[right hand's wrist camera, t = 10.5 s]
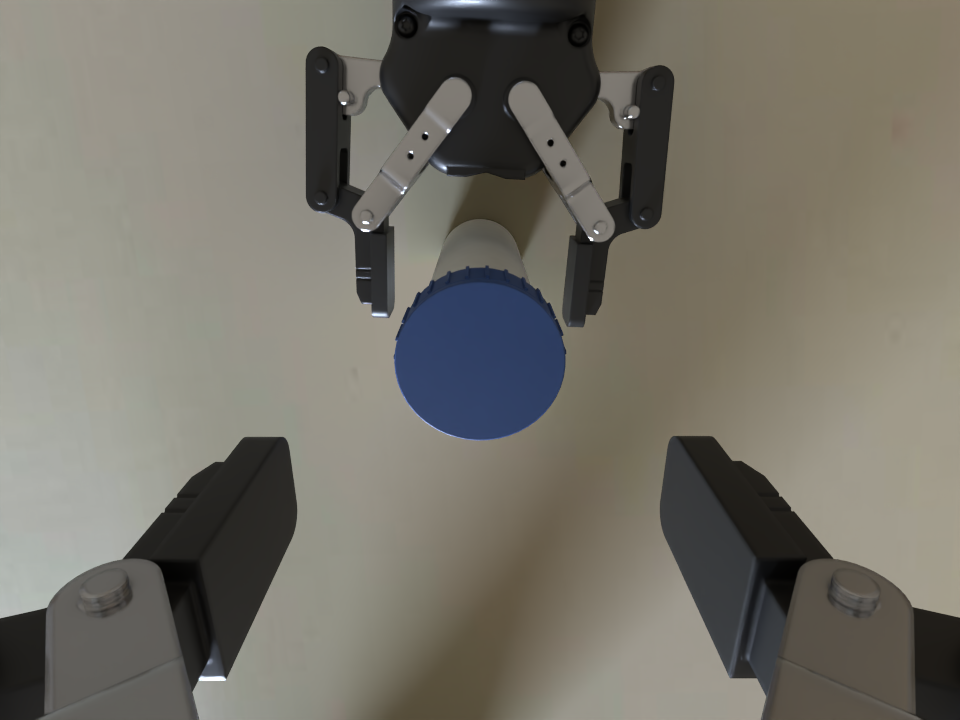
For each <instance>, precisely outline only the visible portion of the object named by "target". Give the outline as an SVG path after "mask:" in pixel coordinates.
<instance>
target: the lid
mask: <svg viewBox="0 0 960 720" xmlns="http://www.w3.org/2000/svg"><path fill="white" fill-rule="evenodd" d="M555 318H556V316H555V314H554V311H553V309H552V306H551V304H550V303H548V304H547V303H546V301H545V300H544V298H543V297H542V295H541V292H540V290H539V289H538V288H537V289H536V290H535V289H534V288H533V287H532V286H531V285H530V284H528V283H527V282H526V279H525V278H524V277H522V278H519V277H517V276H515V275H513V274H511V273H508V270H507V269H504V271H502V270H498V269H493V268H489V266H488V265H485V268H483V267H480V268H469V266H466V269H462V270H458V271H455V272H452V273H451V271H448V272H447V275H445V276H443V277H441V278H439V279H437V280H436V281H434V280H431V281H430V284H429V286H428V287H427V288H425V289H424V290H423V292H422V293H420V292H418V293H417V295H416V297H415V300H414V302H413V304H412V306H411V308H409V307H408V308H407V310H406V312H405V315H404V317H403V320H402V323H404V324H401V326H400V329H399V331H398V334H397V336H396V339H395V340H396V341H397V344H396V349H395V354H394V359H395V362H394V363H395V373H396V377H397V381H398V385H399V387H400V390H401V392H402V394H403V396H404V398H405V400H406V401H407V403H408V404H409V405H410V407H411V408H412V409H413V411H414V412H415V413H416V414H417V415H418V416H419V417H420V418H421V419H423V420H424V421H425V422H426V423H428V424H429V425H430V426H432V427H434V428H435V429H437V430H439V431H441V432H443V433H446V434H448V435H451V436H454V437H457V438H462V439H468V440H492V439H498V438H502V437H506V436H509V435H512V434H514V433H517V432H519V431H521V430H523V429H525V428H526V427H528V426H530V425H531V424H532V423H534V422H535V421H536V420H538V419H539V418H540V417H541V416H542V415H543V414H544V413H545V412H546V411H547V409H548V408H549V407H550V406H551V404H552V403H553V401H554V400H555V398H556V396H557V394H558V392H559V390H560V388H561V384H562V381H563V378H564V372H565V354H566V350H565V347H564V344H563V340H562V337H561V336H563V332H562V330H561V327H560V325H559V322H558V320H557V319H555Z"/></svg>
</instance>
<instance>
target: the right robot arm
mask: <svg viewBox="0 0 960 720" xmlns="http://www.w3.org/2000/svg"><path fill="white" fill-rule="evenodd" d="M660 519H661V525H662V530H663V533H664V536H665V538H666V540H667V542H668V545H669V547H670V549H671V551H672V553H673V555H674V558H675V560H676V562H677V564H678V566H679V569H680V571H681V573H682V575H683V577H684V579H685V582H686V584H687V586H688V588H689V590H690V592H691V595H692V597H693V599H694V601H695V603H696V605H697V608H698V610H699V612H700V614H701V616H702V618H703V621H704V623H705V625H706V627H707V629H708V632H709V634H710V636H711V638H712V640H713V642H714V645H715V647H716V649H717V651H718V653H719V655H720V658H721V660H722V662H723V664H724V666H725V668H726V671H727V673H728V675H729V677H730V678H757V679H758V681H759V683H760V685H761V687H762V689H763V691H764V693H765V695H766V701H765V705H764V709H763V713H762V717H761V720H960V618H959V617H954V616H950V615H945V614H941V613H936V612H932V611H927V610H922V609H918V608H914V607H912V605H911V603H910V601H909V600H908V598H907V597H906V596H905V594H904V593H903V592H902V591H901V590H900V589H899V588H898V587H896V586H895V585H894V584H893V583H892V582H890V581H889V580H887V579H886V578H884V577H883V576H881V575H879V574H878V573H876V572H874V571H872V570H870V569H868V568H865V567H863V566H860V565H857V564H854V563H851V562H847V561H843V560H838V559H833V558H832V556H831V555H830V554H829V553H828V552H827V550H826V549H825V548H824V547H823V546H822V544H821V543H820V542H819V541H818V540H817V538H816V537H815V536H814V535H813V534H812V532H811V531H810V530H809V529H808V528H807V526H806V525H805V524H804V523H803V522H802V520H801V519H800V518H799V517H798V516H797V514H796V513H795V512H794V511H791V507H790V506H789V505H788V504H787V502H786V501H785V500H784V499H783V498H782V497H779V493H778V492H777V490H776V489H775V488H774V487H773V486H772V484H771V483H770V482H769V481H768V480H767V478H766V477H765V476H764V475H762V474H761V473H759V472H758V471H756V470H754V469H753V468H751V467H750V466H748V465H747V464H745V463H743V462H742V461H732V460H731V459H730V457H729V456H728V455H727V454H726V452H725V451H724V450H723V448H722V447H721V446H720V445H719V443H718V442H717V441H716V439H715V438H714V437H712V436H673V437H672V438H671V439H670V441H669V444H668V449H667V456H666V464H665V471H664V479H663V486H662V493H661V501H660ZM296 520H297V501H296V494H295V487H294V479H293V472H292V465H291V458H290V450H289V445H288V442H287V440H286V439H285V438H284V437H244V438H243V439H242V440H241V441H240V442H239V444H238V445H237V446H236V447H235V449H234V450H233V451H232V453H231V454H230V455H229V456H228V458H227V459H226V460H225V462H215V463H213V464H211V465H210V466H208V467H207V468H205V469H204V470H202V471H200V472H199V473H197V474H196V475H194V476H193V477H191V479H190V480H189V481H188V482H187V483H186V485H185V486H184V487H183V488H182V489H181V491H180V492H179V493H178V494H177V498H174V499H173V500H172V501H171V502H170V504H169V505H168V506H167V507H166V508H165V513H161V514H160V515H159V517H158V518H157V519H156V520H155V521H154V523H153V524H152V525H151V526H150V527H149V528H148V530H147V531H146V532H145V533H144V534H143V536H142V537H141V538H140V539H139V540H138V542H137V543H136V544H135V545H134V546H133V547H132V549H131V550H130V551H129V552H128V553H127V555H126V556H125V557H124V558H123V559H122V560H117V561H113V562H109V563H106V564H103V565H100V566H97V567H95V568H92V569H90V570H88V571H86V572H84V573H82V574H81V575H79V576H77V577H76V578H74V579H73V580H71V581H70V582H68V583H67V584H66V585H65V586H64V587H62V588H61V589H60V590H59V591H58V592H57V593H56V594H55V596H54V597H53V598H52V600H51V601H50V603H49V605H48V608H44V609H41V610H36V611H32V612H27V613H23V614H18V615H14V616H9V617H5V618H0V720H199V717H198V713H197V709H196V705H195V701H194V697H193V693H192V691H193V690H194V688H195V686H196V684H197V682H198V680H226V679H227V676H228V674H229V672H230V670H231V668H232V666H233V664H234V661H235V659H236V657H237V655H238V653H239V651H240V649H241V646H242V644H243V642H244V640H245V638H246V636H247V634H248V631H249V629H250V627H251V625H252V623H253V621H254V619H255V616H256V614H257V612H258V610H259V608H260V606H261V603H262V601H263V599H264V597H265V595H266V593H267V591H268V588H269V586H270V584H271V582H272V580H273V578H274V576H275V573H276V571H277V569H278V567H279V565H280V563H281V561H282V558H283V556H284V554H285V552H286V550H287V548H288V546H289V543H290V541H291V539H292V537H293V534H294V531H295V527H296Z"/></svg>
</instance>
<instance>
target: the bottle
mask: <svg viewBox="0 0 960 720" xmlns="http://www.w3.org/2000/svg"><path fill="white" fill-rule="evenodd" d="M485 265H488V266H489V268H493V269H498V270H502V271H504V269H507V270H508V273H511V274H513V275H515V276H517V277H519V278H522V277H524V278H525V279H526V282H527V283H528V284H530V283H529V280H528V277H527V274H526V271H525V268H524V265H523V262H522V259H521V256H520V253H519V250H518V247H517V244H516V242H515V240H514V238H513V236H512V235H511V234H510V232H509V231H508V230H507V229H506V228H504V227H503V226H502V225H500V224H498V223H496V222H494V221H491V220H486V219H474V220H469V221H466V222H464V223H462V224H460V225H459V226H457V227H456V228H455V229H453V230H452V231H451V232H450V234H449V235H448V236H447V238H446V240H445V242H444V244H443V247H442V250H441V253H440V256H439V259H438V262H437V265H436V268H435V271H434V274H433V277H432V280H434V281H436V280H437V279H439V278H441V277H443V276H445V275H447V272H448V271H451V273H452V272H455V271H458V270H462V269H466V266H469V268H480V267H483V268H485Z"/></svg>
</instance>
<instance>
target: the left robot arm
mask: <svg viewBox="0 0 960 720" xmlns="http://www.w3.org/2000/svg"><path fill="white" fill-rule="evenodd" d="M595 3H596V0H393V30H392V37H391V42H390V45H389V48H388V50H387V52H386V54H385V56H384V58H383V60H373V59H365V58H357V57H348V56H340V55H339V54H337V53H335V52H333V51H332V50H330V49H328V48H326V47H315V48H313V49H312V50H311V51H310V52H309V53H308V55H307V58H306V199H307V202H308V204H309V206H310V207H311V208H312V209H313V210H314V211H316V212H319V213H328V214H330V215H333V216H335V217H338V218H340V219H342V220H344V221H346V222H347V223H348V224H349V225H350V226H351V227H352V229H353V231H354V234H355V253H356V278H357V280H356V284H357V294H358V296H359V299H360V301H361V303H362V304H372V316H373V317H380V318H389V317H390V315H391V313H392V311H393V309H394V302H395V278H394V226H389V216H390V214H391V213H392V212H393V210H394V209H395V208H396V206H397V205H398V204H399V202H400V201H401V200H402V199H403V197H404V196H405V195H406V193H407V192H408V191H409V189H410V188H411V187H412V186H413V184H414V183H415V182H416V181H417V179H418V178H419V177H420V176H421V174H422V173H423V172H424V170H425V169H426V168H427V166H428V165H429V164H431V165H432V166H433V167H434V168H436V169H437V170H439V171H441V172H443V173H445V174H447V176H459V177H468V176H472V175H476V174H481V173H490V174H493V175H496V176H499V177H502V178H505V179H520V180H525V178H526V177H530V176H532V175H534V174H536V173H538V172H539V171H541V170H542V171H543V172H544V174H545V176H546V177H547V179H548V180H549V182H550V184H551V185H552V187H553V188H554V190H555V191H556V193H557V194H558V195H559V197H560V199H561V200H562V202H563V203H564V205H565V207H566V208H567V210H568V212H569V213H570V215H571V216H572V218H573V220H574V221H575V223H576V224H577V225H576V235H575V236H570V239H569V249H568V258H567V268H566V278H565V288H564V298H563V308H562V314H563V319H564V321H565V323H566V325H567V327H584V324H585V317H586V315H596V313H597V311H598V309H599V307H600V306H601V302H602V295H603V287H604V279H605V271H606V263H607V255H608V249H609V246H610V244H611V242H612V241H613V239H614V238H615V237H617V236H618V235H620V234H622V233H626V232H629V231H632V230H635V229H639V228H641V229H649V228H652V227H653V226H655V225H656V224H657V223H658V222H659V220H660V218H661V213H662V203H663V192H664V182H665V172H666V162H667V151H668V141H669V131H670V121H671V110H672V100H673V90H674V76H673V73H672V72H671V70H670V69H669V68H667V67H665V66H662V65H658V66H654V67H649V68H647V69H644V70H642V71H619V72H599V70H598V67H597V65H596V62H595V59H594V55H593V49H592V33H593V23H594V13H595ZM379 88H382V91H383V93H384V95H385V96H386V98H387V99H388V101H389V102H390V104H391V106H392V107H393V109H394V110H395V112H396V113H397V115H398V116H399V118H400V119H401V121H402V122H403V124H404V126H405V127H406V129H407V130H408V132H407V134H406V135H405V136H404V138H403V139H402V140H401V142H400V143H399V145H398V146H397V147H396V149H395V150H394V151H393V153H392V154H391V155H390V157H389V158H388V160H387V161H386V162H385V164H384V165H383V167H382V168H381V170H380V172H379V174H378V175H377V177H376V178H375V179H374V181H373V182H372V183H371V185H370V186H369V187H368V189H367V190H366V192H365V191H363V190H360V189H358V188H356V187H353V186H351V185H349V176H350V135H351V116H357V115H359V114H361V113H362V112H363V111H364V110H365V108H366V106H367V102H368V98H369V96H370V94H371V93H372V92H373V91H374V90H376V89H379ZM597 99H598V100H601V101H603V102H604V103H605V104H606V105H607V107H608V109H609V117H610V121H611V123H612V124H613V125H614V126H615V127H616V128H618V129H624V132H623V147H622V161H621V175H620V189H619V198H618V199H615V200H612V201H609V202H606V203H603V201H602V199H601V198H600V196H599V194H598V192H597V191H596V189H595V187H594V186H593V184H592V181H591V178H590V176H589V174H588V173H587V171H586V169H585V168H584V166H583V164H582V163H581V161H580V159H579V157H578V156H577V154H576V152H575V151H574V149H573V147H572V146H571V144H570V142H569V141H568V137H569V136H570V135H571V133H572V132H573V131H574V130H575V128H576V127H577V126H578V125H579V123H580V122H581V121H582V120H583V118H584V117H585V116H586V115H587V113H588V112H589V111H590V110H591V108H592V107H593V106H594V104H595V103H596V101H597Z"/></svg>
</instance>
